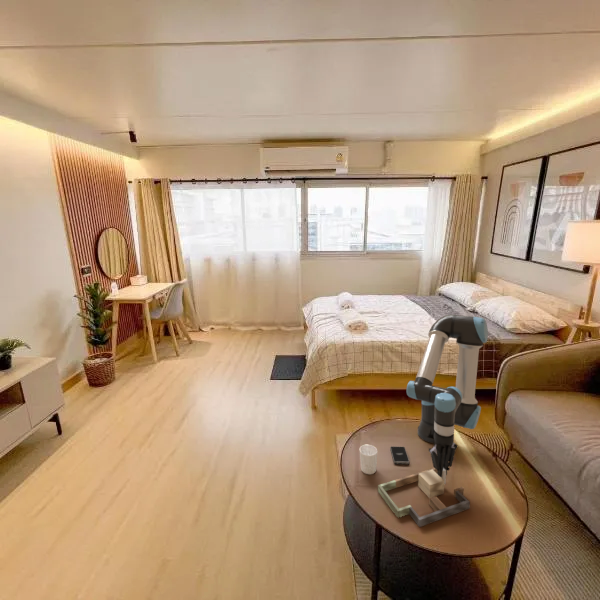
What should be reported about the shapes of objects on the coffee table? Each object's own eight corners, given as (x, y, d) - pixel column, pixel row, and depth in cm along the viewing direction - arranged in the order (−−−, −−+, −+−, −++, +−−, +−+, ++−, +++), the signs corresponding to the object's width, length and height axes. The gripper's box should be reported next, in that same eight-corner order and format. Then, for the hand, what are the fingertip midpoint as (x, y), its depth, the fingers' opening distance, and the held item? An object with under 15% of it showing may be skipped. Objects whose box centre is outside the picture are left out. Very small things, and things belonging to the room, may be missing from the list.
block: (432, 481, 140) (432, 469, 139) (443, 493, 133) (444, 480, 132) (418, 486, 138) (418, 473, 136) (429, 498, 131) (429, 485, 130)
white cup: (366, 461, 154) (366, 442, 152) (380, 468, 149) (380, 449, 147) (356, 469, 149) (355, 450, 147) (371, 478, 143) (370, 458, 141)
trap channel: (438, 471, 145) (439, 466, 144) (475, 506, 126) (476, 499, 126) (378, 491, 136) (378, 485, 135) (407, 531, 117) (407, 524, 116)
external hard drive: (394, 465, 151) (394, 461, 151) (390, 449, 162) (390, 446, 162) (409, 465, 150) (409, 461, 150) (404, 450, 161) (404, 446, 161)
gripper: (449, 423, 138) (447, 472, 142) (424, 430, 134) (422, 480, 138) (463, 432, 130) (461, 484, 135) (437, 440, 127) (435, 492, 131)
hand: (441, 482), depth 137 cm, fingers closed
